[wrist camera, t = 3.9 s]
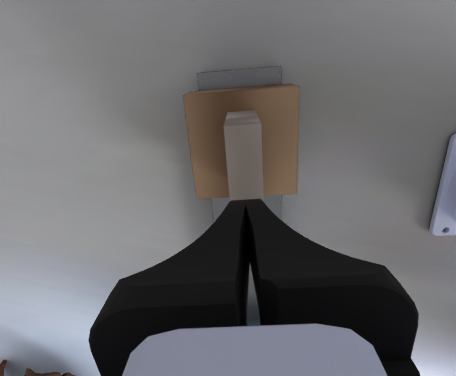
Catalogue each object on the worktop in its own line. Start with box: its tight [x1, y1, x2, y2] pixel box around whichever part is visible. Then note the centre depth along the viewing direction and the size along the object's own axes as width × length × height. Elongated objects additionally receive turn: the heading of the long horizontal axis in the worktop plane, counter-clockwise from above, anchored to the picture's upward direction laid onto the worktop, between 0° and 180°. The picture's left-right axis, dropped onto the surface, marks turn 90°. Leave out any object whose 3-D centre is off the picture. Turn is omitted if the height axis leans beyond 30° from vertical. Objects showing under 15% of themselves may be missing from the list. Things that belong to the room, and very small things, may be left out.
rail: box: [197, 66, 282, 319], centre depth 21 cm, size 5×20×2 cm, turn 5°
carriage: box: [183, 84, 299, 202], centre depth 15 cm, size 6×6×6 cm
